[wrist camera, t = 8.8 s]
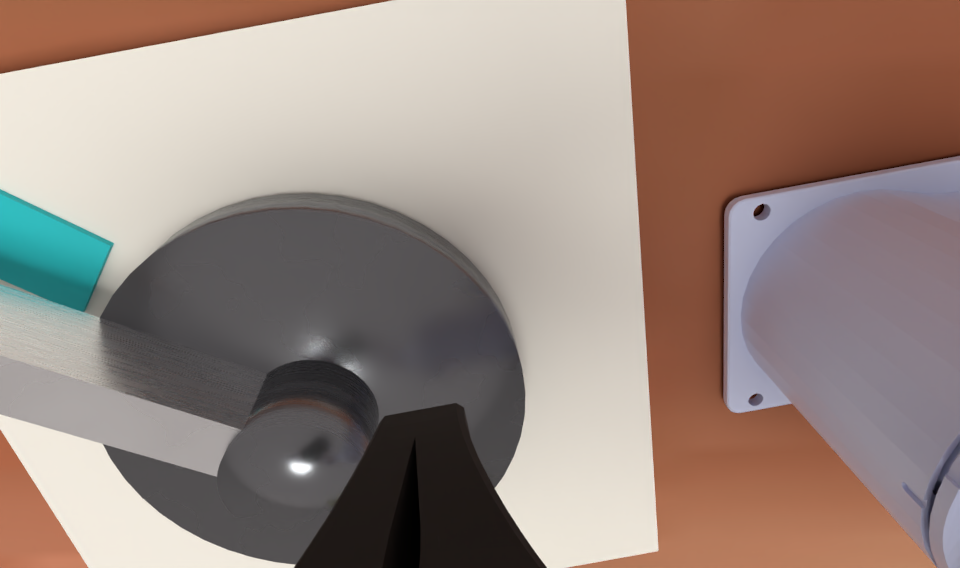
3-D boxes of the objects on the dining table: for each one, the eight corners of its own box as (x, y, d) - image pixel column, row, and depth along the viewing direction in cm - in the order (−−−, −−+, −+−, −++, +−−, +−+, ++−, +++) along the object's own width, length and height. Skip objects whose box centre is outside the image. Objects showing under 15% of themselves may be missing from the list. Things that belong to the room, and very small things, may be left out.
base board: (606, -40, 16) (625, -43, 14) (645, 520, 24) (660, 555, 23) (-149, 101, 16) (-210, 113, 14) (153, 609, 25) (135, 649, 23)
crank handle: (589, 292, 18) (632, 373, 14) (425, 565, 22) (424, 685, 18) (-293, -79, 13) (-608, -111, 9) (-286, 369, 17) (-497, 479, 13)
